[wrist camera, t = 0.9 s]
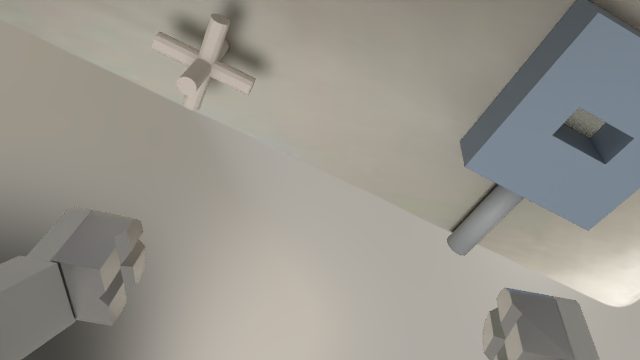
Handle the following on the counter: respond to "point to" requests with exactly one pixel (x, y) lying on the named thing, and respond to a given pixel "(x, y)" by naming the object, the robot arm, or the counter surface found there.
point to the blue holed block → (561, 127)
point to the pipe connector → (203, 62)
